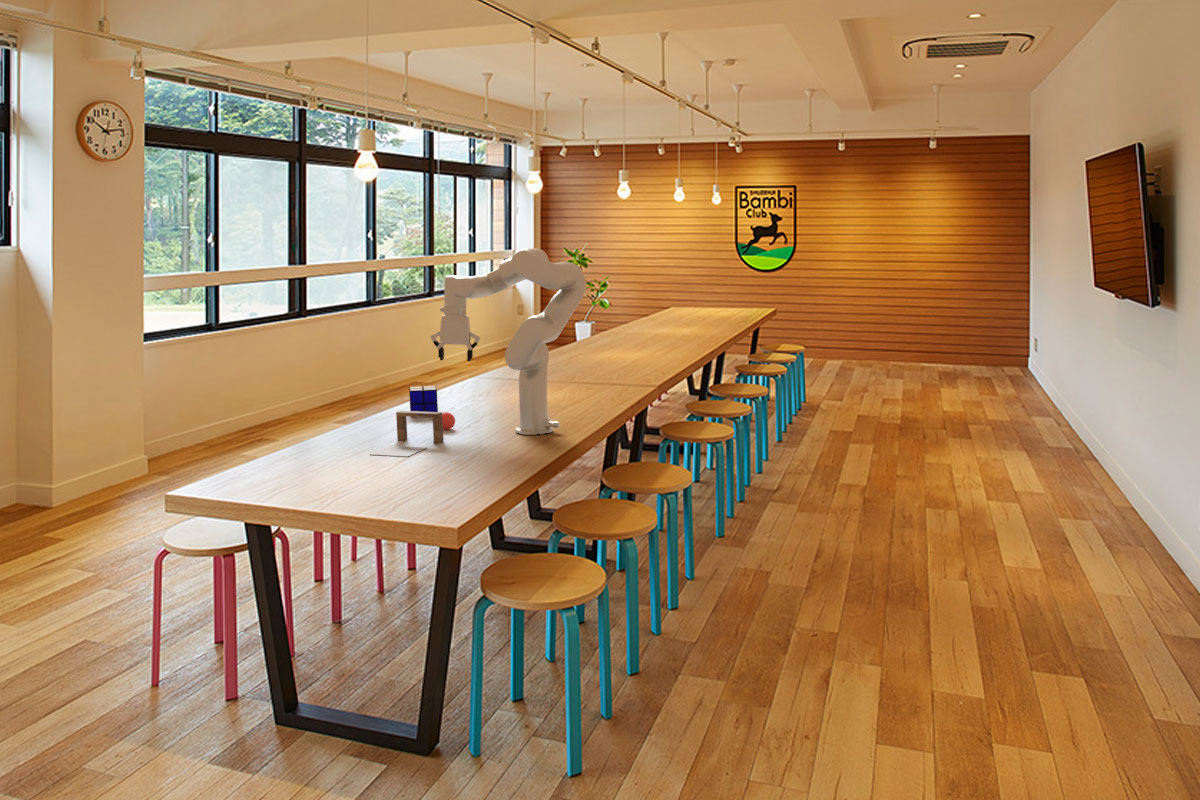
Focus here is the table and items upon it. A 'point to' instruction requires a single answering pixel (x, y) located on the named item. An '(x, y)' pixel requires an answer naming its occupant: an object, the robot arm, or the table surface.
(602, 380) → the table surface
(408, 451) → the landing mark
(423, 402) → the puzzle cube
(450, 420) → the ball
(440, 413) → the bridge
